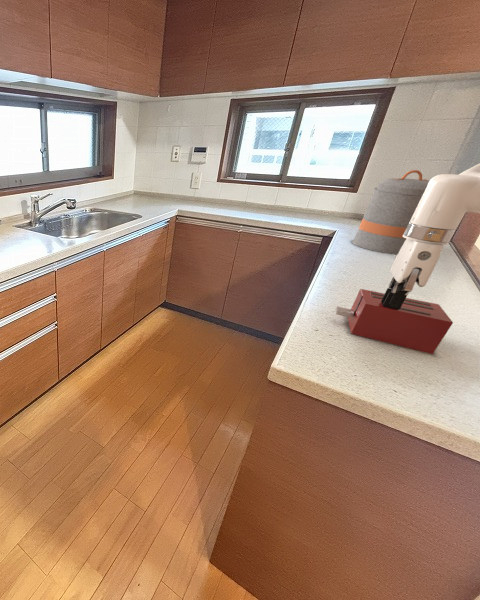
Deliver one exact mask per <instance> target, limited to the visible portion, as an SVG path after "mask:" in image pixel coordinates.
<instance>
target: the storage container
mask: <svg viewBox="0 0 480 600" xmlns="http://www.w3.org/2000/svg"><path fill="white" fill-rule="evenodd" d="M413 173H415V174H417V176H418V179H416V178H407V177H408V176H409V175H410V174H413ZM429 182H430V180H428V179H426V178H423V174H422V172H421V171H420V170H418V169H413V170H409V171H407V172H405V174H404V175H402V177H391V178H386V179H384V180H382V181H380V182H378V184H377V186H376V187H374V188H373V194H372V195H371V198H370V200H369V203H368V205H367V206H366V207H367V208H366V210H365V212H364V214H363V218H362V219H361V222H360V224H359V226H358V229H357V231H356V233H355V236H354V238H353V239H352V244H353V245H354V246H357V247H359V248H363V249H365V250H369V251H375V252H379V253H384V254H385V253H386V254H394V255H398V253H399V251H400V249H401V247H402V246H403V244H404V242H405V241H406V238H404V237H403V234H404V232H405V230H406V228H407V226H408V224H409V222H410V220H411V218H412V216H413V214H414V212H415V210H416V208H417V206H418V204H419V202H420V200H421V198H422V196H423V193H424V191H425V189H426V187H427V185H428V183H429Z"/></svg>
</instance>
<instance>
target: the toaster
mask: <svg viewBox="0 0 480 600" xmlns="http://www.w3.org/2000/svg"><path fill="white" fill-rule="evenodd" d="M384 294H385V292H379V291H374V290H369V289H364V288H360V289H359V291H358V293H357V295H356V297H355V300H354V302H353V304H352V305H351V308H350V309H351V310H353V312H354V316H353V318H350V317H347V322H348V326H349V331H350V334H351V335H354V336H355V335H356V336H359V337H362V338H367V339H370V340H374V341H379V342H382V343H386V344H390V345H394V346H398V347H402V348H406V349H410V350H414V351H418V352H422V353H426V354H430V355H433V354H434V353H435V352H436V350H437V348H438V347H439V345H440V344H441V342H442V341H443V339H444V337H445V336H446V334H447V333H448V331H450V328H451V327H452V326H453V323H454V322H453V320H452V319H451V318H450V317H449V315H448V314H447V313H446V311H445V310H444V309H443V307H442V306H441V305H440V304H439V303H434V302H429V301H425V300H419V299H415V298H409V297H406V299H405V300H404V302H403V304H402V306H401V308H400V309H399V310H396V309H392V308H387V307H383V303H382V302H381V300H382V298H383V296H384Z"/></svg>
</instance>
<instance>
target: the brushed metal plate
mask: <svg viewBox="0 0 480 600" xmlns="http://www.w3.org/2000/svg"><path fill="white" fill-rule="evenodd" d="M335 315H337V316H342V317H345V318H348V317H350V318H353V316H354V312H353V310H351V308H346V307H342V306H336V309H335Z"/></svg>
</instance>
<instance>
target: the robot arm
mask: <svg viewBox="0 0 480 600" xmlns="http://www.w3.org/2000/svg"><path fill="white" fill-rule="evenodd" d="M429 181H430V182H429V183H428V185H427V187H426V189H425V191H424V193H423V196H422V198H421V200H420V202H419V204H418V206H417V208H416V210H415V212H414V214H413V216H412V218H411V220H410V222H409V224H408V226H407V228H406V230H405V232H404V234H403V237H404V238H406V241H405V242H404V244H403V246H402V247H401V249H400V251H399V253H398V254H396V257H395V259H394V261H393V263H392V266H391V268H390V273H391V275H392V279H391V280H390V282H389V284H388V287H387V288H386V290H385V292H384V296H383V298H382V300H381V302H382V303H383V307H387V308H392V309H396V310H399V309H400V308H401V306H402V304H403V302H404V300H405V299H406V298H408V295H409V294H410V293H412V292H413V289H414V286H415V284H417V286H418V287H419V288H423V287H425V286H426V285H427V284H428V282H429V279H430V278H431V276H432V273H433V272H434V271H435V270H434V269H435V267H436V265H437V264H438V261H439V259H440V256H441V254H442V251H443V248H444V246H445V245H448V244H449V243H450V242H451V239H452V238H453V235H454V234H455V232H456V230H457V229H458V227H459V225H460V223H461V221H462V220H463V218H464V216H465V214H466V213H476V214H480V163H478V164H475V165H473V166H472V167H469V168H468V169H466V170H464V171H462V172H461V173H459V174H457V173H455V174H454V173H441V174H437V175H435V176H433V177H431V179H430V180H429ZM391 289H392V292H390V291H391Z"/></svg>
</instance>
